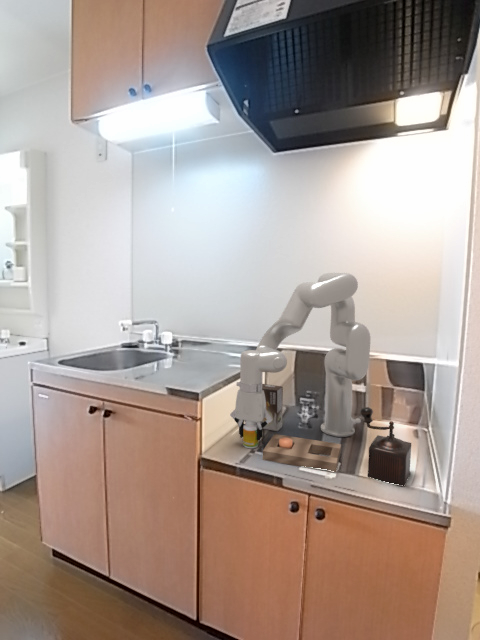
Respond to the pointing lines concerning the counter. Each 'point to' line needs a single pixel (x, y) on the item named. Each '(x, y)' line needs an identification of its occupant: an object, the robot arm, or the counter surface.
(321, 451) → the board
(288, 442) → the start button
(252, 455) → the counter surface
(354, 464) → the counter surface
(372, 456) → the manual coffee grinder
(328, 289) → the robot arm
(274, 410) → the coffee box
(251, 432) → the supplement bottle
